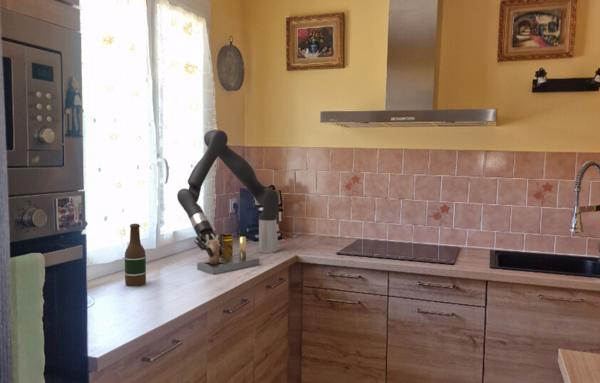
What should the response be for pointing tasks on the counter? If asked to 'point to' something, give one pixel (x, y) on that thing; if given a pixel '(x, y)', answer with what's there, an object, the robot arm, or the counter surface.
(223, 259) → the bolt plate
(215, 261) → the walnut peg
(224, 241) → the condiment
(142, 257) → the beer bottle
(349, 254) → the counter surface
